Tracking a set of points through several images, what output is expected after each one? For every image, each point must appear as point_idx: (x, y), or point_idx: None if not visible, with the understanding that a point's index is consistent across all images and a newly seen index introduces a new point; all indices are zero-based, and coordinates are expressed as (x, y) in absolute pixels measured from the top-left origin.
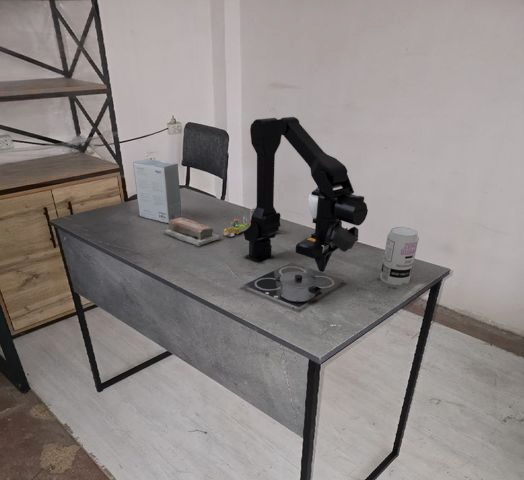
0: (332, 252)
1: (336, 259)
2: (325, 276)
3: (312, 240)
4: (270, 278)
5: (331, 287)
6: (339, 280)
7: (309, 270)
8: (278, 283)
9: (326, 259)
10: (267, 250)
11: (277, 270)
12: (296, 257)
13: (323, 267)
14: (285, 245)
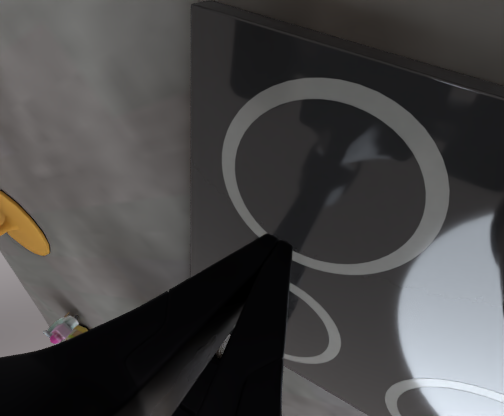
0: (47, 359)
1: (29, 144)
2: (219, 169)
3: (22, 238)
4: (393, 406)
5: (399, 79)
6: (217, 51)
7: (208, 253)
8: (451, 397)
9: (197, 334)
10: (199, 397)
11: (290, 364)
12: (134, 279)
13: (278, 279)
14: (102, 299)
